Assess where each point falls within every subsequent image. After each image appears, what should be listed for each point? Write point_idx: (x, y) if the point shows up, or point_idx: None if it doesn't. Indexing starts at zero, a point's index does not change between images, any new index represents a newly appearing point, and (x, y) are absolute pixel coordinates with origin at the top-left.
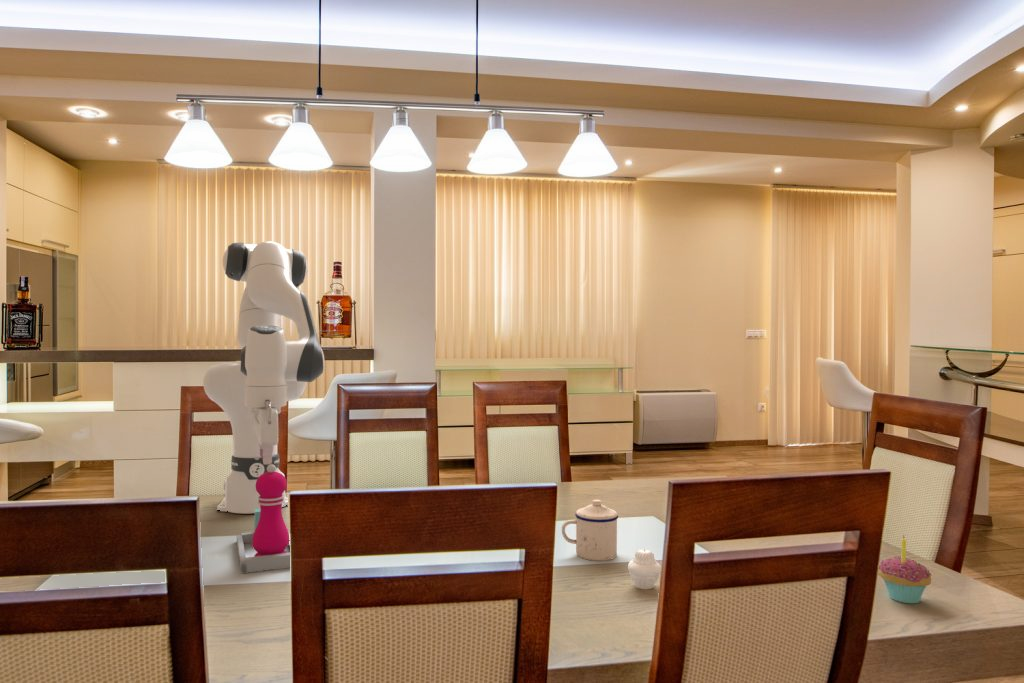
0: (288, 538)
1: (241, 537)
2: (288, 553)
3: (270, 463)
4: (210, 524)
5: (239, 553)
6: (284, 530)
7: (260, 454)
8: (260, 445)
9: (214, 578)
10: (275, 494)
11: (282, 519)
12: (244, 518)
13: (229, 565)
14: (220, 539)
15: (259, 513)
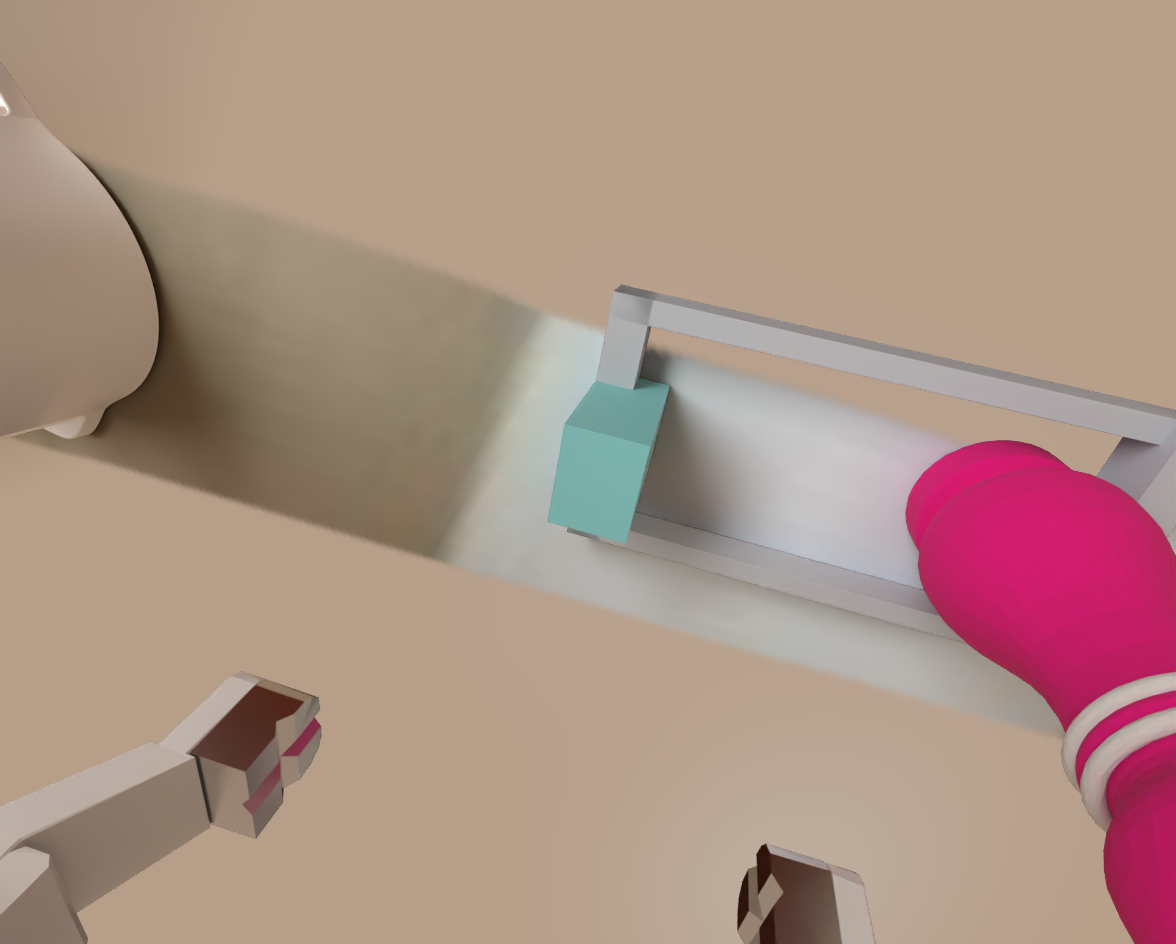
0: (1137, 503)
1: (640, 536)
2: (1162, 495)
3: (854, 880)
4: (278, 510)
5: (864, 612)
6: (1171, 558)
7: (302, 775)
8: (152, 856)
9: (995, 712)
10: None
11: (1169, 595)
12: (221, 372)
13: (881, 631)
14: (507, 547)
15: (632, 518)
